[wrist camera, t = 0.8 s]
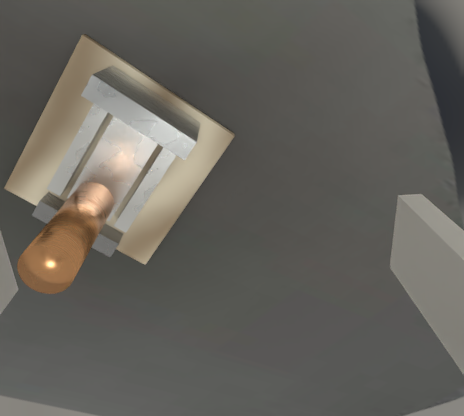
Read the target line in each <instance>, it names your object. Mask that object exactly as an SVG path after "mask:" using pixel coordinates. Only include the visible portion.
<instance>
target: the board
mask: <svg viewBox="0 0 464 416" xmlns="http://www.w3.org/2000/svg"><path fill="white" fill-rule="evenodd" d="M110 66H115V67H116V68H118V69H119V70H121V71H122V72H124V73H125V74H127V75H129V76H130V77H132V78H133V79H135V80H136V81H138V82H139V83H141V84H142V85H144V86H145V87H147V88H148V89H150V90H151V91H153V92H154V93H156V94H157V95H159V96H160V97H162V98H163V99H165V100H166V101H168V102H169V103H171V104H173V105H174V106H176V107H177V108H179V109H180V110H182V111H183V112H185V113H186V114H188V115H189V116H191V117H192V118H194V119H195V120H197V121H198V122H200V128H199V133H198V139H197V143H196V144H195V146H194V147H193V149H192V150H191V152H190V153H189V155H188V156H187V158H186V159H185V160H183V159H181V158H180V157H178V156H177V155H176V157H175V159H174V160H173V162H172V163H171V165H170V166H169V168H168V169H167V171H166V172H165V174H164V175H163V177H162V178H161V180H160V182H159V183H158V185H157V186H156V188H155V189H154V191H153V192H152V194H151V195H150V197H149V198H148V200H147V201H146V203H145V204H144V206H143V208H142V209H141V211H140V212H139V214H138V215H137V217H136V218H135V220H134V221H133V223H132V224H131V226H130V227H129V229H128V231H127V232H126V233H125V232H123V231H122V230H120V229H118V228H116V227H114V224H115V222H116V220H117V218H118V217H119V215H120V213H121V212H122V210H123V209H124V207H125V206H126V204H127V202H128V201H129V199H130V198H131V196H132V195H133V193H134V191H135V190H136V188H137V187H138V185H139V184H140V182H141V180H142V179H143V177H144V176H145V174H146V172H147V171H148V169H149V168H150V166H151V165H152V163H153V161H154V160H155V158H156V157H157V155H158V154H159V152H160V150H161V149H162V146H161V145H159V144H158V145H157V147H156V148H155V150H154V151H153V153H152V154H151V156H150V158H149V159H148V161H147V162H146V164H145V166H144V167H143V169H142V170H141V172H140V174H139V175H138V177H137V178H136V180H135V181H134V183H133V185H132V186H131V188H130V189H129V191H128V193H127V194H126V196H125V197H124V199H123V201H122V202H121V204H120V205H119V207H118V209H117V210H116V212H115V213H114V215H113V216H112V218H111V220H110V221H107V220H106V222H105V224H107V225H109V226H111V227H112V228H114V229H116V230H118V231H120V232H121V233H123V236H122V238H121V240H120V243H119V245H118V246H117V248H116V249H117V250H119V251H120V252H122V253H124V254H126V255H128V256H130V257H132V258H133V259H135V260H137V261H139V262H141V263H143V264H144V265H145V264H146V263H147V262H148V260H149V259H150V257H151V256H152V254H153V253H154V251H155V250H156V249H157V247H158V246H159V244H160V243H161V241H162V240H163V238H164V237H165V236H166V234H167V233H168V231H169V230H170V228H171V227H172V226H173V224H174V223H175V221H176V220H177V218H178V217H179V215H180V214H181V213H182V211H183V210H184V208H185V207H186V205H187V204H188V202H189V201H190V200H191V198H192V197H193V195H194V194H195V192H196V191H197V189H198V188H199V187H200V185H201V184H202V182H203V181H204V179H205V178H206V177H207V175H208V174H209V172H210V171H211V169H212V168H213V166H214V165H215V164H216V162H217V161H218V159H219V158H220V156H221V155H222V153H223V152H224V151H225V149H226V148H227V146H228V145H229V143H230V142H231V140H232V139H233V138H234V136H235V135H234V133H232V132H231V131H229V130H228V129H226V128H225V127H223V126H222V125H220V124H219V123H217V122H216V121H214V120H213V119H211V118H210V117H208V116H207V115H205V114H204V113H202V112H201V111H199V110H198V109H196V108H195V107H193V106H192V105H190V104H189V103H187V102H186V101H184V100H183V99H181V98H180V97H178V96H177V95H175V94H174V93H172V92H171V91H169V90H168V89H166V88H165V87H163V86H162V85H160V84H159V83H157V82H156V81H154V80H153V79H151V78H150V77H148V76H147V75H145V74H144V73H142V72H141V71H139V70H138V69H136V68H135V67H134V66H132V65H131V64H129V63H128V62H126V61H125V60H123V59H122V58H120V57H119V56H117V55H116V54H114V53H113V52H111V51H110V50H108V49H107V48H105V47H104V46H102V45H101V44H99V43H98V42H96V41H95V40H93V39H92V38H90V37H89V36H87V35H86V34H84V35H82V36H81V38H80V40H79V42H78V44H77V46H76V48H75V50H74V52H73V54H72V56H71V58H70V60H69V62H68V64H67V66H66V68H65V70H64V72H63V74H62V76H61V77H60V79H59V81H58V83H57V85H56V87H55V89H54V91H53V93H52V95H51V97H50V99H49V101H48V103H47V105H46V107H45V109H44V111H43V113H42V115H41V117H40V119H39V121H38V123H37V125H36V127H35V129H34V131H33V133H32V134H31V136H30V138H29V140H28V142H27V144H26V146H25V148H24V150H23V152H22V154H21V156H20V158H19V160H18V162H17V164H16V166H15V168H14V170H13V172H12V174H11V176H10V178H9V180H8V182H7V184H6V186H5V188H4V189H6V190H8V191H10V192H12V193H13V194H15V195H17V196H19V197H21V198H23V199H24V200H26V201H28V202H30V203H32V204H34V205H36V206H37V205H38V203H39V201H40V200H41V199H42V198H43V197H44V196H45V195H46V194H47V193H48V192H49V193H51V194H53V195H55V196H56V197H58V198H60V199H62V200H64V201H65V202H66V201H67V200H68V198H67V197H68V195H69V193H70V191H71V190H72V188H73V186H74V184H75V183H76V181H77V179H78V177H79V176H80V174H81V172H82V170H83V169H84V167H85V165H86V164H87V162H88V160H89V158H90V157H91V155H92V153H93V151H94V150H95V148H96V146H97V144H98V143H99V141H100V139H101V137H102V136H103V134H104V132H105V130H106V129H107V127H108V125H109V123H110V122H111V120H112V118H113V115H111V114H109V116H108V117H107V119H106V121H105V123H104V124H103V126H102V128H101V130H100V131H99V133H98V135H97V137H96V138H95V140H94V142H93V144H92V145H91V147H90V149H89V151H88V152H87V154H86V156H85V158H84V159H83V161H82V163H81V165H80V167H79V168H78V170H77V172H76V174H75V175H74V177H73V179H72V181H71V182H70V184H69V186H68V188H67V189H66V190H65V191H64V192H63V194H62V195H61V196H59V195H57V194H55V193H53V192H51V191H50V190H48V189H47V187H48V185H49V184H50V182H51V180H52V178H53V176H54V174H55V173H56V171H57V169H58V167H59V165H60V164H61V162H62V160H63V158H64V156H65V154H66V153H67V151H68V149H69V147H70V145H71V144H72V142H73V140H74V138H75V136H76V134H77V133H78V131H79V129H80V127H81V125H82V124H83V122H84V120H85V118H86V116H87V114H88V113H89V111H90V109H91V107H92V105H93V104H94V103H92V102H90V101H89V100H87V99H86V98H84V97H82V96H81V94H82V93H83V91H84V89H85V87H86V85H87V83H88V81H89V79H90V78H91V76H92V74H95V73H97V72H99V71H101V70H104V69H106V68H108V67H110Z"/></svg>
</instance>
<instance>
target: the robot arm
mask: <svg viewBox="0 0 464 416" xmlns="http://www.w3.org/2000/svg"><path fill="white" fill-rule="evenodd" d="M390 268H391V270H392V271H393V273H394V274H395V276H396V277H397V278H398V280H399V281H400V283H401V284H402V286H403V287H404V289H405V290H406V292H407V293H408V294H409V296H410V297H411V299H412V300H413V302H414V303H415V305H416V306H417V308H418V309H419V310H420V312H421V313H422V315H423V316H424V318H425V319H426V321H427V322H428V324H429V325H430V326H431V328H432V329H433V331H434V332H435V334H436V335H437V337H438V338H439V340H440V341H441V342H442V344H443V345H444V347H445V348H446V350H447V351H448V353H449V354H450V356H451V357H452V358H453V360H454V361H455V363H456V364H457V366H458V367H459V369H460V370H461V372H462V373H463V374H464V231H463V230H462V229H461V228H460V227H459V226H458V225H456V224H455V223H454V222H453V221H452V220H451V219H449V218H448V217H447V216H446V215H445V214H444V213H443V212H441V211H440V210H439V209H438V208H437V207H436V206H435V205H433V204H432V203H431V202H430V201H429V200H428V199H427V198H425V197H424V196H423V195H422V194H413V195H398V201H397V210H396V218H395V227H394V235H393V244H392V253H391V261H390ZM17 291H18V287H17V283H16V280H15V277H14V274H13V270H12V267H11V264H10V260H9V257H8V254H7V251H6V247H5V244H4V241H3V237H2V234H1V231H0V314H1V313H2V312H3V310H4V309H5V307H6V306H7V305H8V303H9V302H10V301H11V299H12V298H13V296H14V295H15V294H16V292H17Z"/></svg>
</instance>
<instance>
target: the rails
mask: <svg viewBox="0 0 464 416" xmlns="http://www.w3.org/2000/svg"><path fill="white" fill-rule="evenodd" d="M109 114H110V113H108V112H106V111H105V110H103V109H102V108H100V107H98V106H97V105H95V104H93V105H92V107H91V109H90V111H89V113H88V114H87V116H86V118H85V120H84V122H83V124H82V125H81V127H80V129H79V131H78V133H77V134H76V136H75V138H74V140H73V142H72V144H71V145H70V147H69V149H68V151H67V153H66V154H65V156H64V158H63V160H62V162H61V164H60V165H59V167H58V169H57V171H56V173H55V174H54V176H53V178H52V180H51V182H50V184H49V185H48V187H47V189H48V190H50V191H51V192H53V193H55V194H57V195H59V196H61V195H62V194H63V192H64V191H65V190H66V189H67V188H68V186H69V184H70V182H71V181H72V179H73V177H74V175H75V174H76V172H77V170H78V168H79V167H80V165H81V163H82V161H83V159H84V158H85V156H86V154H87V152H88V151H89V149H90V147H91V145H92V144H93V142H94V140H95V138H96V137H97V135H98V133H99V131H100V130H101V128H102V126H103V124H104V123H105V121H106V119H107V117H108V116H109ZM175 157H176V155H175V154H173V153H172V152H170V151H169V150H167V149H165V148H164V147H162V149H161V150H160V152H159V154H158V155H157V157H156V158H155V160H154V161H153V163H152V165H151V166H150V168H149V169H148V171H147V172H146V174H145V176H144V177H143V179H142V180H141V182H140V184H139V185H138V187H137V188H136V190H135V191H134V193H133V195H132V196H131V198H130V199H129V201H128V202H127V204H126V206H125V207H124V209H123V210H122V212H121V213H120V215H119V217H118V218H117V220H116V222H115V224H114V227H116V228H118V229H120V230H122V231H123V232H125V233H126V232H127V231H128V229H129V227H130V226H131V224H132V223H133V221H134V220H135V218H136V217H137V215H138V214H139V212H140V211H141V209H142V208H143V206H144V204H145V203H146V201H147V200H148V198H149V197H150V195H151V194H152V192H153V191H154V189H155V188H156V186H157V185H158V183H159V182H160V180H161V178H162V177H163V175H164V174H165V172H166V171H167V169H168V168H169V166H170V165H171V163H172V162H173V160H174V159H175ZM64 203H65V201H64V200H62V199H60V198H58V197H56V196H55V195H53V194H51V193H49V192H48V193H47V194H46V195H45V196H44V197H43V198H42V199H41V200H40V201H39V203H38V205H37V207H36V208H35V210H34V212H33V214H32V216H34V217H35V218H37V219H39V220H41V221H43V222H45V223H47V224H48V222H49V221H50V220H51V219H52V218H53V216H54V215H55V214H56V213H57V212H58V210H59V209H60V208H61V207H62V206H63V204H64ZM122 236H123V233H121V232H120V231H118V230H116V229H114V228H112V227H111V226H109V225H107V224H104V226H103V228H102V229H101V231H100V233H99V235H98V236H97V238H96V240H95V242H94V244H93V245H92V248H93V249H95V250H97V251H99V252H101V253H103V254H105V255H107V256H108V257H111V255H112V254H113V252H114V251H115V249H116V248H117V246H118V245H119V243H120V240H121V238H122Z"/></svg>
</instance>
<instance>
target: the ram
mask: <svg viewBox="0 0 464 416" xmlns="http://www.w3.org/2000/svg"><path fill="white" fill-rule="evenodd" d="M81 96H82V97H84V98H86V99H87V100H89V101H90V102H92V103H94V104H95V105H97V106H98V107H100V108H102V109H103V110H105V111H106V112H108V113H110V114H111V115H113V118H112V120H111V122H110V123H109V125H108V127H107V129H106V130H105V132H104V134H103V136H102V137H101V139H100V141H99V143H98V144H97V146H96V148H95V150H94V151H93V153H92V155H91V157H90V158H89V160H88V162H87V164H86V165H85V167H84V169H83V170H82V172H81V174H80V176H79V177H78V179H77V181H76V183H75V184H74V186H73V188H72V190H71V191H70V193H69V195H68V197H67V198H68V200H67V201H66V202H65V203H64V204H63V206H62V207H61V208H60V209H59V210H58V212H57V213H56V214H55V215H54V216H53V218H52V219H51V220H50V221H49V222H48V224H47V225H46V226H45V227H44V228H43V230H42V231H41V232H40V233H39V234H38V236H37V237H36V238H35V239H34V240H33V241H32V243H31V244H30V245H29V246H28V247H27V249H26V250H25V251H24V252H23V253H22V255H21V256H20V258H19V260H18V264H17V269H18V273H19V276H20V277H21V279H22V280H23V282H24V283H25V284H26V285H27V286H29V287H30V288H32V289H33V290H35V291H38V292H41V293H47V294H54V293H59V292H62V291H64V290H65V289H67V288H68V287H69V286H70V285H71V283H72V281H73V280H74V278H75V276H76V274H77V272H78V271H79V269H80V267H81V265H82V263H83V262H84V260H85V258H86V256H87V254H88V253H89V251H90V249H91V247H92V245H93V244H94V242H95V240H96V238H97V236H98V235H99V233H100V231H101V229H102V228H103V226H104V224H105V222H106V220H107V221H110V220H111V218H112V216H113V215H114V213H115V212H116V210H117V209H118V207H119V205H120V204H121V202H122V201H123V199H124V197H125V196H126V194H127V193H128V191H129V189H130V188H131V186H132V185H133V183H134V181H135V180H136V178H137V177H138V175H139V174H140V172H141V170H142V169H143V167H144V166H145V164H146V162H147V161H148V159H149V158H150V156H151V154H152V153H153V151H154V150H155V148H156V147H157V145H158V144H159V145H161V146H162V147H164V148H165V149H167V150H169V151H170V152H172V153H173V154H175V155H177V156H178V157H180V158H181V159H183V160H185V159H186V158H187V156H188V155H189V153H190V152H191V150H192V149H193V147H194V146H195V144H196V143H197V139H198V133H199V128H200V122H198V121H197V120H195V119H194V118H192V117H191V116H189V115H188V114H186V113H185V112H183V111H182V110H180V109H179V108H177V107H176V106H174V105H173V104H171V103H169V102H168V101H166V100H165V99H163V98H162V97H160V96H159V95H157V94H156V93H154V92H153V91H151V90H150V89H148V88H147V87H145V86H144V85H142V84H141V83H139V82H138V81H136V80H135V79H133V78H132V77H130V76H129V75H127V74H125V73H124V72H122V71H121V70H119V69H118V68H116V67H115V66H110V67H108V68H106V69H104V70H101V71H99V72H97V73H95V74H92V76H91V78H90V79H89V81H88V83H87V85H86V87H85V89H84V91H83V93H82V94H81Z"/></svg>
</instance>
